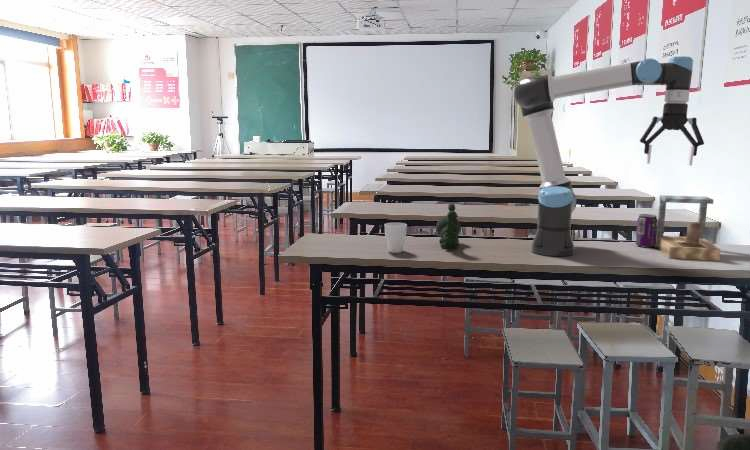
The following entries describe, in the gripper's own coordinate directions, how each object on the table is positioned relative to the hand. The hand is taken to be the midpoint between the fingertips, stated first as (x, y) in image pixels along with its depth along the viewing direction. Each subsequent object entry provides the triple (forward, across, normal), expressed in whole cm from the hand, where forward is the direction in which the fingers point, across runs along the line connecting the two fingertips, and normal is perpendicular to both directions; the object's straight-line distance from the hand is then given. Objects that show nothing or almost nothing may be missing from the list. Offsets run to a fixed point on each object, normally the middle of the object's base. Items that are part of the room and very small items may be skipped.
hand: (668, 164), depth 209 cm
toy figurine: (+35, -75, -7) cm, 83 cm away
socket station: (+32, +10, +3) cm, 34 cm away
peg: (+32, +10, -3) cm, 34 cm away
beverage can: (+32, -2, +12) cm, 35 cm away
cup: (+35, -93, -21) cm, 102 cm away
